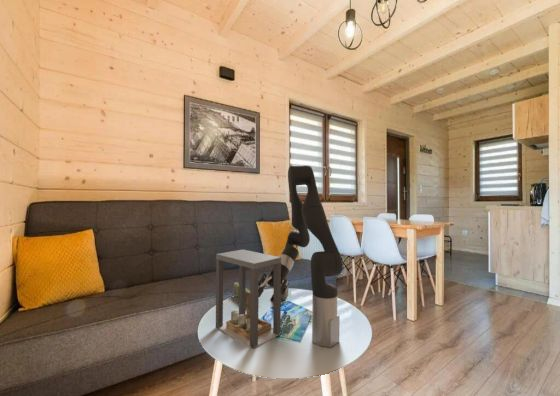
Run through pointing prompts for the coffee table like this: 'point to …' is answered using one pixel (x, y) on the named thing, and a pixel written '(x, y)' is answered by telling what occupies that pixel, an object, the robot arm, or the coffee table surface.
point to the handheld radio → (236, 291)
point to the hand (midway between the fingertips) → (264, 298)
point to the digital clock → (283, 297)
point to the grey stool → (252, 262)
